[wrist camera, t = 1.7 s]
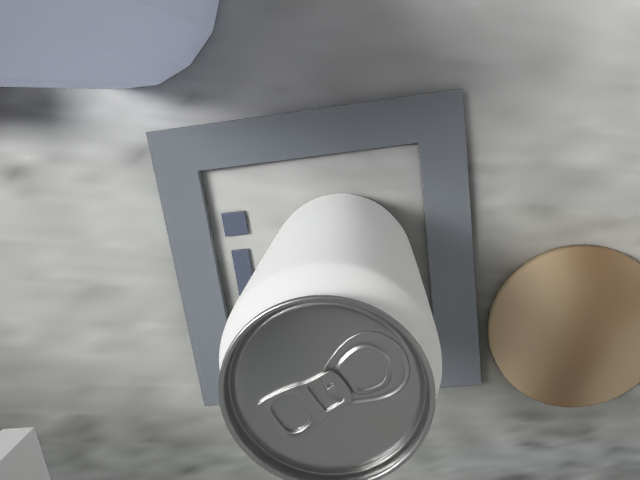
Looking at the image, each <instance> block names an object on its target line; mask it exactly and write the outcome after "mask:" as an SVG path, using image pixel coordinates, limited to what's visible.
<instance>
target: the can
mask: <svg viewBox="0 0 640 480" xmlns="http://www.w3.org/2000/svg"><path fill="white" fill-rule="evenodd" d="M219 369H220V375H219V385H218V391H219V402H220V407H221V411H222V414H223V418H224V420H225V423H226V425H227V427H228V429H229V431H230V433H231V435H232V436H233V438H234V439H235V441H236V442H237V444H238V445H239V446H240V447H241V449H242V450H243V451H244V452H245V453H246V454H247V455H248V456H249V457H250V458H251V459H252V460H253V461H255V462H256V463H257V464H258V465H260V466H261V467H262V468H264V469H265V470H267V471H268V472H270V473H272V474H274V475H276V476H278V477H280V478H282V479H284V480H378V479H381V478H383V477H385V476H386V475H388V474H390V473H392V472H393V471H395V470H396V469H398V468H399V467H400V466H402V465H403V464H404V463H405V462H406V461H407V460H408V459H409V458H410V457H411V456H412V455H413V454H414V453H415V452H416V450H417V449H418V448H419V446H420V445H421V443H422V442H423V440H424V439H425V437H426V435H427V433H428V430H429V428H430V425H431V422H432V419H433V415H434V410H435V401H436V398H437V396H438V392H439V389H440V384H441V378H442V354H441V346H440V341H439V337H438V333H437V329H436V326H435V322H434V319H433V315H432V312H431V309H430V305H429V302H428V299H427V295H426V292H425V289H424V286H423V282H422V279H421V276H420V273H419V270H418V266H417V263H416V260H415V257H414V254H413V251H412V248H411V245H410V242H409V240H408V237H407V235H406V233H405V231H404V230H403V228H402V227H401V225H400V224H399V222H398V221H397V220H396V219H395V218H394V217H393V216H392V215H391V214H390V213H389V212H388V211H387V210H386V209H385V208H383V207H382V206H381V205H379V204H378V203H376V202H374V201H372V200H370V199H367V198H364V197H361V196H357V195H352V194H332V195H326V196H322V197H319V198H316V199H314V200H311V201H309V202H308V203H306V204H304V205H303V206H301V207H300V208H299V209H297V210H296V211H295V212H294V213H293V214H292V215H291V216H290V217H289V218H288V219H287V221H286V222H285V223H284V225H283V226H282V228H281V229H280V231H279V232H278V234H277V235H276V237H275V239H274V240H273V242H272V243H271V245H270V247H269V248H268V250H267V252H266V253H265V255H264V257H263V258H262V260H261V261H260V263H259V265H258V266H257V268H256V270H255V271H254V273H253V275H252V276H251V278H250V280H249V281H248V283H247V285H246V287H245V288H244V290H243V292H242V293H241V295H240V297H239V299H238V300H237V302H236V304H235V306H234V308H233V310H232V311H231V313H230V315H229V318H228V320H227V322H226V325H225V328H224V331H223V334H222V338H221V343H220V350H219Z"/></svg>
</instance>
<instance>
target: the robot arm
mask: <svg viewBox="0 0 640 480" xmlns="http://www.w3.org/2000/svg"><path fill="white" fill-rule="evenodd" d="M0 480H51V479H50V476H49V473H48V470H47V467H46V463H45V460H44V457H43V454H42V450H41V447H40V444H39V441H38V438H37V434H36V431H35V428H34V427H27V428H13V429H3V430H1V431H0Z"/></svg>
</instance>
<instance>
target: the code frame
mask: <svg viewBox="0 0 640 480" xmlns="http://www.w3.org/2000/svg"><path fill="white" fill-rule="evenodd" d="M146 135H147V139H148V144H149V149H150V153H151V158H152V163H153V167H154V172H155V177H156V181H157V186H158V191H159V195H160V200H161V205H162V209H163V214H164V219H165V223H166V228H167V233H168V237H169V242H170V246H171V251H172V256H173V260H174V265H175V270H176V274H177V279H178V284H179V288H180V293H181V298H182V302H183V307H184V312H185V316H186V321H187V326H188V330H189V335H190V340H191V344H192V349H193V354H194V358H195V363H196V368H197V372H198V377H199V382H200V386H201V391H202V396H203V400H204V405H205V406H212V405H220V402H219V391H218V385H219V375H220V369H219V350H220V343H221V338H222V334H223V331H224V328H225V325H226V322H227V320H228V313H227V307H226V302H225V297H224V292H223V287H222V281H221V276H220V271H219V266H218V261H217V256H216V250H215V245H214V240H213V235H212V230H211V224H210V219H209V214H208V209H207V204H206V198H205V193H204V188H203V183H202V178H201V172H200V171H201V170H209V169H217V168H225V167H233V166H241V165H248V164H256V163H264V162H272V161H280V160H287V159H295V158H303V157H311V156H319V155H327V154H334V153H342V152H350V151H358V150H366V149H374V148H381V147H389V146H397V145H405V144H413V143H418V146H419V158H420V169H421V181H422V192H423V204H424V216H425V227H426V239H427V250H428V262H429V274H430V285H431V297H432V308H433V319H434V322H435V326H436V329H437V333H438V337H439V341H440V346H441V354H442V378H441V384H440V388H444V387H457V386H470V385H482V383H481V367H480V351H479V335H478V319H477V303H476V288H475V272H474V256H473V240H472V224H471V209H470V193H469V177H468V161H467V145H466V130H465V114H464V98H463V89H457V90H449V91H442V92H435V93H428V94H420V95H413V96H406V97H399V98H391V99H384V100H377V101H370V102H362V103H355V104H348V105H340V106H333V107H326V108H319V109H311V110H304V111H297V112H290V113H282V114H275V115H268V116H260V117H253V118H246V119H239V120H231V121H224V122H217V123H210V124H202V125H195V126H188V127H181V128H173V129H166V130H159V131H151V132H146ZM221 215H222V220H223V225H224V231H225V236H234V235H243V234H248V233H249V232H248V227H247V221H246V215H245V211H238V212H229V213H222V214H221ZM231 252H232V257H233V263H234V268H235V273H236V279H237V284H238V290H239V295H241V293H242V292H243V290H244V288H245V287H246V285H247V283H248V281H249V280H250V278H251V276H252V275H253V273H252V267H251V262H250V256H249V250H248V249H241V250H232V251H231Z"/></svg>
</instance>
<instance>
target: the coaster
mask: <svg viewBox="0 0 640 480" xmlns="http://www.w3.org/2000/svg"><path fill="white" fill-rule="evenodd" d="M488 341H489V345H490V349H491V352H492V355H493V357H494V359H495V361H496V363H497V365H498V367H499V369H500V370H501V372H502V373H503V375H504V376H505V377H506V379H507V380H508V381H509V382H510V383H511V384H512V385H513V386H514V387H515V388H517V389H518V390H519V391H521V392H522V393H524V394H525V395H527V396H529V397H531V398H533V399H535V400H537V401H540V402H543V403H546V404H550V405H554V406H561V407H583V406H591V405H595V404H599V403H603V402H606V401H609V400H611V399H614V398H616V397H618V396H620V395H622V394H624V393H626V392H627V391H629V390H630V389H632V388H633V387H635V386H636V385H637V384H638V383H640V264H639V263H638V262H637V261H635V260H634V259H632V258H630V257H629V256H627V255H625V254H623V253H621V252H619V251H616V250H613V249H610V248H607V247H602V246H597V245H585V244H584V245H570V246H564V247H559V248H555V249H552V250H549V251H546V252H544V253H542V254H539V255H537V256H535V257H534V258H532V259H530V260H528V261H527V262H525V263H524V264H523V265H521V266H520V267H519V268H517V269H516V270H515V271H514V272H513V273H512V274H511V275H510V276H509V277H508V279H507V280H506V281H505V282H504V283H503V285H502V286H501V288H500V289H499V291H498V292H497V294H496V296H495V299H494V301H493V303H492V306H491V309H490V312H489V318H488Z"/></svg>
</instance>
